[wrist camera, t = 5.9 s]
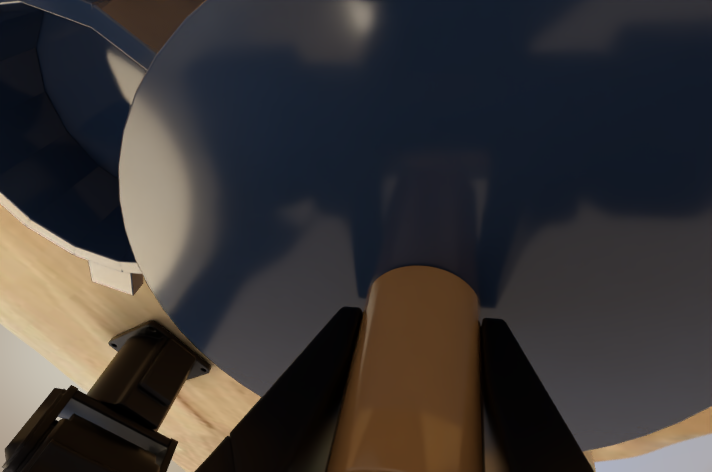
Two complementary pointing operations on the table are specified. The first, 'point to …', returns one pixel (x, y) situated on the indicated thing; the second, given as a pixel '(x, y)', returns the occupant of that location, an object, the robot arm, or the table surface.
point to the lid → (436, 206)
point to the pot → (75, 118)
